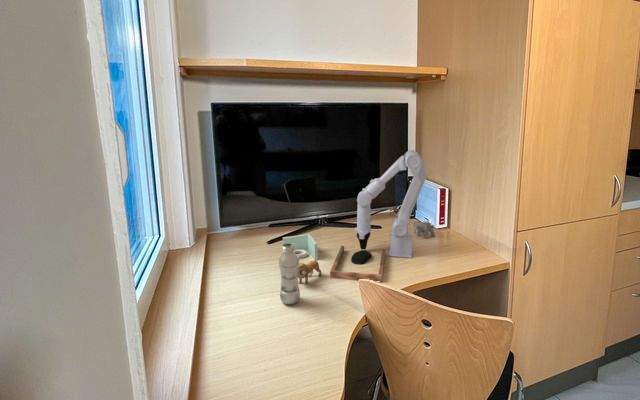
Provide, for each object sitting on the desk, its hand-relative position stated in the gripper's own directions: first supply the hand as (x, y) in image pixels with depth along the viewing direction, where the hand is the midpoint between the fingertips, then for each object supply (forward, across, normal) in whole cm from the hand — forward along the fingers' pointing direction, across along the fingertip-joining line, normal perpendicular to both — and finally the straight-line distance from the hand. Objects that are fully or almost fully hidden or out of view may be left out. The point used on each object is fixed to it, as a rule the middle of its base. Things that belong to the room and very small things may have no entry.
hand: (363, 248), depth 155 cm
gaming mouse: (+2, +6, +1) cm, 6 cm away
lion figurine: (+2, +30, -16) cm, 35 cm away
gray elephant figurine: (+2, -23, +26) cm, 35 cm away
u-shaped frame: (+1, +13, 0) cm, 13 cm away
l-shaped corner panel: (+2, +10, -26) cm, 28 cm away
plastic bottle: (+2, +45, -19) cm, 49 cm away
